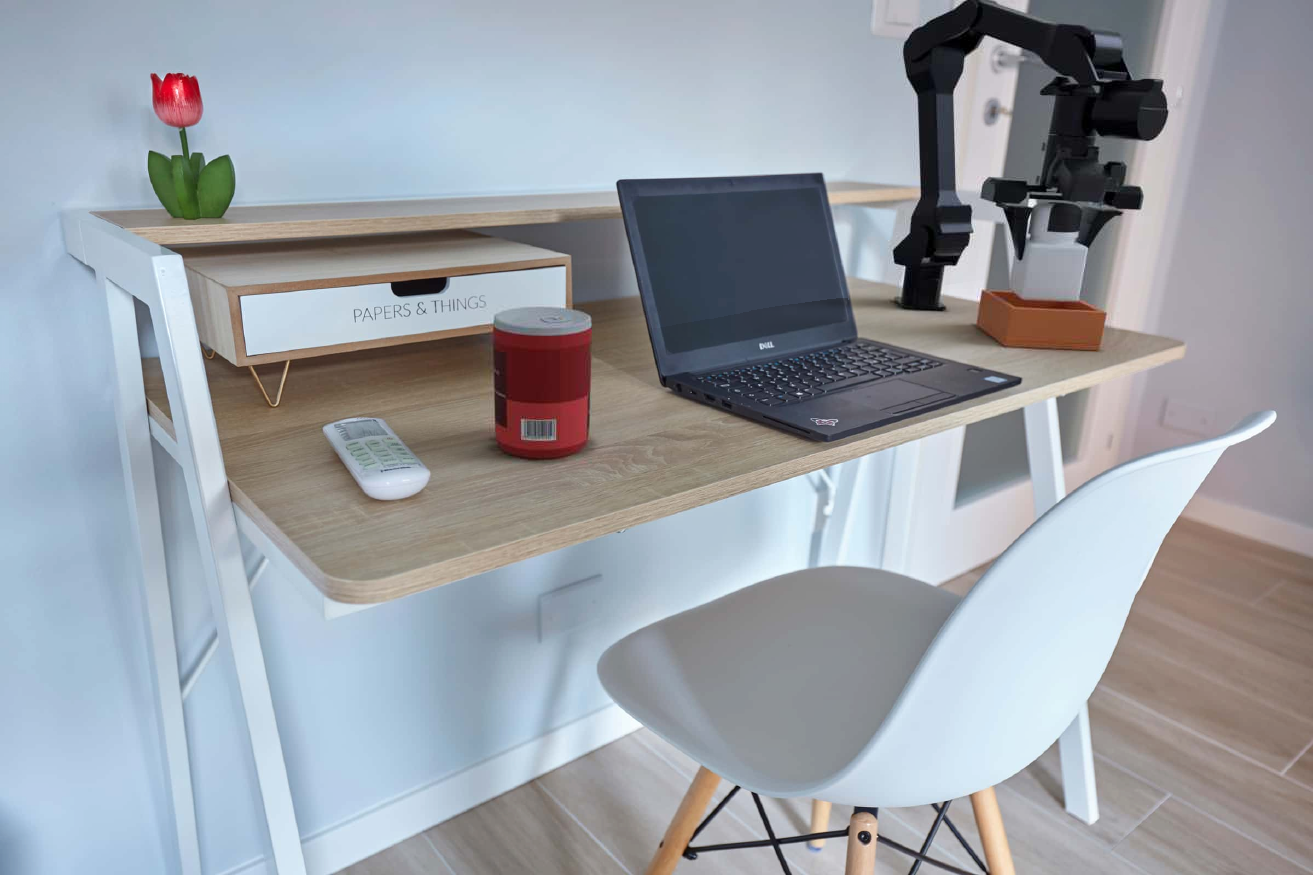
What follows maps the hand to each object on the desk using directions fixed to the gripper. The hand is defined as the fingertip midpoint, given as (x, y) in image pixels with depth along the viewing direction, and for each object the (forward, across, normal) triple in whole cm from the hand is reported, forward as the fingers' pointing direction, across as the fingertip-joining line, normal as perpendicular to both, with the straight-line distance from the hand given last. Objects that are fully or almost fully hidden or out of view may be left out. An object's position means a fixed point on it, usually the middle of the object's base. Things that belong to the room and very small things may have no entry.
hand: (1047, 261), depth 121 cm
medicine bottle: (+5, 0, 0) cm, 5 cm away
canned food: (+10, -60, -49) cm, 78 cm away
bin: (+10, 0, 0) cm, 10 cm away
